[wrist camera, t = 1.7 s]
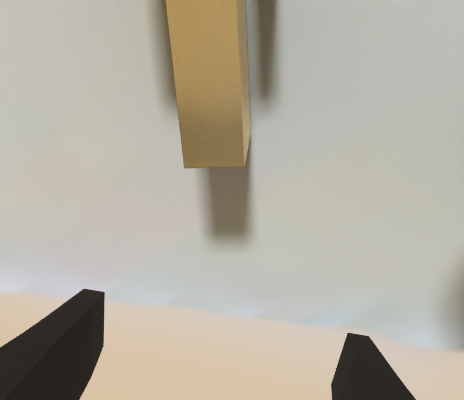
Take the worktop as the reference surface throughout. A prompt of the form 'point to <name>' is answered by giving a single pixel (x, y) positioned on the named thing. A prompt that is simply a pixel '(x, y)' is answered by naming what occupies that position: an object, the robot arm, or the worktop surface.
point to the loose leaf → (211, 80)
